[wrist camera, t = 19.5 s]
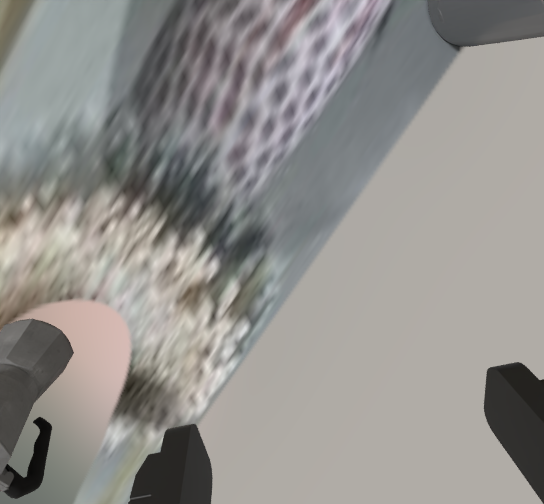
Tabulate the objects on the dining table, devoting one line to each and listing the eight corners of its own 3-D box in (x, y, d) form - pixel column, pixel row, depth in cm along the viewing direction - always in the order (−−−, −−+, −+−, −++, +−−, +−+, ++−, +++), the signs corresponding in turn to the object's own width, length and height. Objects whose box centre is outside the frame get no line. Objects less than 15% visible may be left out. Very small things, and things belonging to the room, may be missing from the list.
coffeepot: (-34, 331, 46) (-184, 469, 30) (20, 292, 44) (-108, 416, 28) (62, 403, 52) (-19, 551, 36) (113, 372, 50) (52, 512, 34)
